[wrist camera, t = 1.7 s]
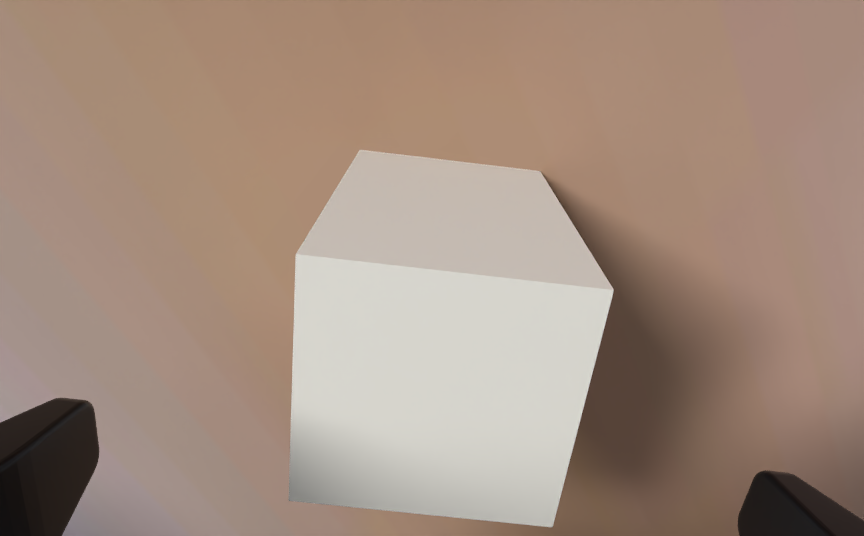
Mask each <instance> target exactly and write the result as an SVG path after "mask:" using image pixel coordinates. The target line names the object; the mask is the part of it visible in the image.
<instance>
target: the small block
mask: <svg viewBox="0 0 864 536" xmlns="http://www.w3.org/2000/svg"><path fill="white" fill-rule="evenodd" d="M613 292H614V289H613V288H612V286H611V285H610V283H609V281H608V280H607V278H606V276H605V275H604V273H603V272H602V270H601V268H600V267H599V265H598V264H597V262H596V260H595V259H594V257H593V256H592V254H591V252H590V251H589V249H588V247H587V246H586V244H585V243H584V241H583V239H582V238H581V236H580V235H579V233H578V231H577V230H576V228H575V226H574V225H573V223H572V222H571V220H570V218H569V217H568V215H567V214H566V212H565V210H564V209H563V207H562V206H561V204H560V202H559V201H558V199H557V197H556V196H555V194H554V193H553V191H552V189H551V188H550V186H549V185H548V183H547V181H546V180H545V178H544V177H543V175H542V173H541V172H540V171H535V170H526V169H518V168H510V167H501V166H493V165H484V164H476V163H467V162H459V161H451V160H442V159H434V158H425V157H417V156H408V155H400V154H392V153H383V152H375V151H366V150H359V152H358V154H357V155H356V157H355V159H354V160H353V162H352V163H351V165H350V167H349V168H348V170H347V172H346V173H345V175H344V176H343V178H342V180H341V181H340V183H339V185H338V186H337V188H336V190H335V191H334V193H333V194H332V196H331V198H330V199H329V201H328V203H327V204H326V206H325V207H324V209H323V211H322V212H321V214H320V216H319V217H318V219H317V220H316V222H315V224H314V225H313V227H312V229H311V230H310V232H309V234H308V235H307V237H306V238H305V240H304V242H303V243H302V245H301V247H300V248H299V250H298V251H297V253H296V267H295V301H294V336H293V370H292V405H291V439H290V474H289V501H297V502H307V503H316V504H326V505H336V506H346V507H356V508H366V509H376V510H386V511H396V512H405V513H415V514H425V515H435V516H445V517H455V518H465V519H475V520H485V521H495V522H504V523H514V524H524V525H534V526H544V527H553V523H554V519H555V516H556V512H557V508H558V504H559V500H560V496H561V493H562V489H563V485H564V481H565V477H566V473H567V469H568V466H569V462H570V458H571V454H572V450H573V446H574V442H575V439H576V435H577V431H578V427H579V423H580V419H581V415H582V412H583V408H584V404H585V400H586V396H587V392H588V388H589V385H590V381H591V377H592V373H593V369H594V365H595V361H596V358H597V354H598V350H599V346H600V342H601V338H602V334H603V331H604V327H605V323H606V319H607V315H608V311H609V308H610V304H611V300H612V296H613Z"/></svg>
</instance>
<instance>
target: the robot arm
mask: <svg viewBox="0 0 864 536" xmlns="http://www.w3.org/2000/svg"><path fill="white" fill-rule="evenodd" d="M98 458H99V444H98V436H97V428H96V420H95V412H94V408H93V406H92V404H91V403H90V402H88V401H86V400H78V399H69V398H56V399H53V400H51V401H48V402H46V403H44V404H42V405H39V406H37V407H35V408H33V409H30V410H28V411H26V412H23V413H21V414H19V415H17V416H14V417H12V418H10V419H8V420H5V421H3V422H1V423H0V536H62V534H63V532H64V530H65V528H66V526H67V524H68V522H69V520H70V518H71V516H72V514H73V512H74V510H75V508H76V506H77V504H78V502H79V500H80V498H81V497H82V495H83V493H84V491H85V489H86V487H87V485H88V483H89V481H90V479H91V477H92V475H93V473H94V471H95V468H96V466H97V463H98ZM738 531H739V535H740V536H864V521H863V520H862V519H860V518H859V517H857V516H856V515H854V514H853V513H851V512H850V511H848V510H847V509H845V508H844V507H842V506H841V505H839V504H838V503H836V502H835V501H833V500H831V499H830V498H828V497H827V496H825V495H824V494H822V493H821V492H819V491H818V490H816V489H815V488H813V487H812V486H810V485H809V484H807V483H806V482H804V481H803V480H801V479H800V478H798V477H797V476H795V475H793V474H790V473H785V472H775V471H761V472H759V473H758V474H757V475H756V476H755V477H754V479H753V482H752V484H751V486H750V489H749V491H748V494H747V496H746V498H745V501H744V503H743V506H742V508H741V510H740V513H739V517H738Z"/></svg>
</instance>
